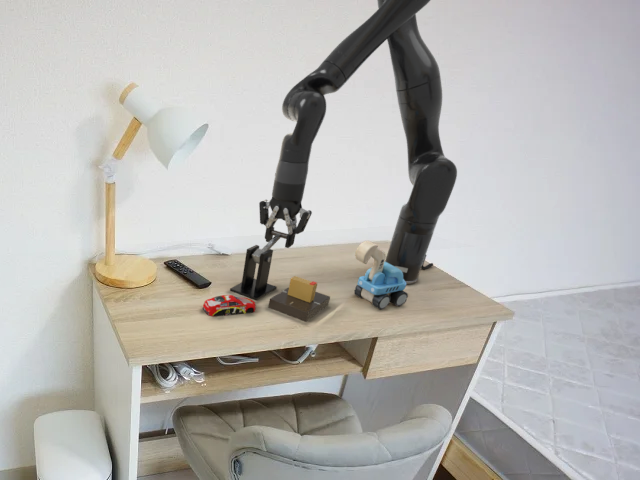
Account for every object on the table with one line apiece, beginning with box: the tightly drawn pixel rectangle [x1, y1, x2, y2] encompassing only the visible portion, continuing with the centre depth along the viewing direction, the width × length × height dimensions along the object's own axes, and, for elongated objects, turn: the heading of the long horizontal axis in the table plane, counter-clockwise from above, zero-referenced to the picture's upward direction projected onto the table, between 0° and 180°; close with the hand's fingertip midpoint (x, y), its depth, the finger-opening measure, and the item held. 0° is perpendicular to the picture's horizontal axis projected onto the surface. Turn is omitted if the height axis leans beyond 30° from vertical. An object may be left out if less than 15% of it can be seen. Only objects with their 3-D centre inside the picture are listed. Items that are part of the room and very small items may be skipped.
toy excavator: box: [353, 240, 409, 310], centre depth 126 cm, size 9×17×17 cm, turn 111°
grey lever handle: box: [252, 229, 288, 265], centre depth 132 cm, size 12×5×2 cm, turn 136°
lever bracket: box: [229, 244, 277, 302], centre depth 132 cm, size 10×8×12 cm
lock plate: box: [267, 286, 331, 322], centre depth 127 cm, size 12×10×3 cm
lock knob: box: [288, 275, 318, 303], centre depth 125 cm, size 6×2×5 cm, turn 46°
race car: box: [202, 294, 257, 317], centre depth 124 cm, size 13×5×4 cm, turn 102°
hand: (278, 243), depth 135 cm, fingers closed on grey lever handle, 5 cm apart
